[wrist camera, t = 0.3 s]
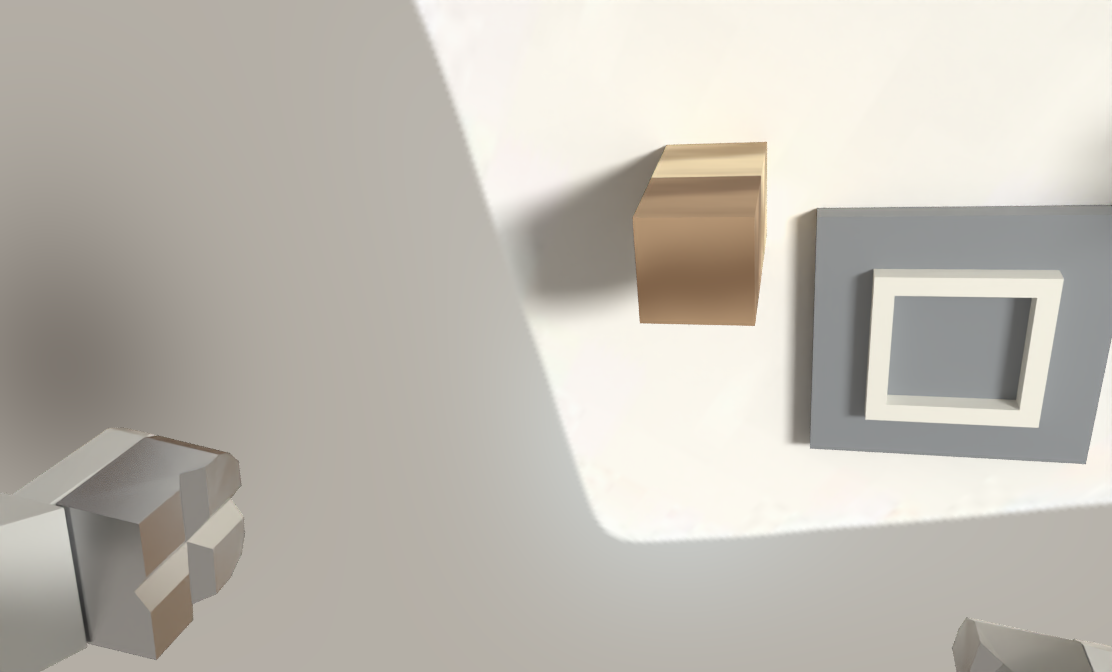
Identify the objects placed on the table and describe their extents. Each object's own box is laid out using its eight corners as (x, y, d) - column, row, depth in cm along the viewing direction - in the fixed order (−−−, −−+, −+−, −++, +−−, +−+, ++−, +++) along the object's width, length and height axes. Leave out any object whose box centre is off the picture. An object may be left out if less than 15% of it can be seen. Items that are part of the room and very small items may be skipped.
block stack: (666, 144, 47) (632, 217, 38) (766, 142, 45) (754, 216, 37) (670, 235, 49) (639, 323, 41) (766, 235, 48) (754, 326, 39)
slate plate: (817, 208, 46) (817, 224, 45) (1129, 205, 43) (1143, 222, 41) (810, 436, 53) (809, 458, 51) (1080, 450, 49) (1090, 475, 47)
